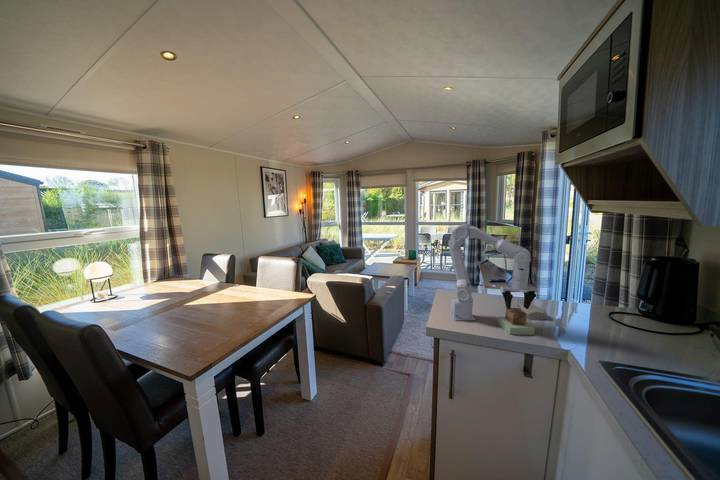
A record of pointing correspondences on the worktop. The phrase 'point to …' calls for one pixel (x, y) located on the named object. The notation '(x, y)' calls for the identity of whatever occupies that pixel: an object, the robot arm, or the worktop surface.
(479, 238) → the robot arm
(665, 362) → the worktop surface
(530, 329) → the base block
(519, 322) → the walnut block
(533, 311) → the stone block
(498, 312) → the worktop surface
